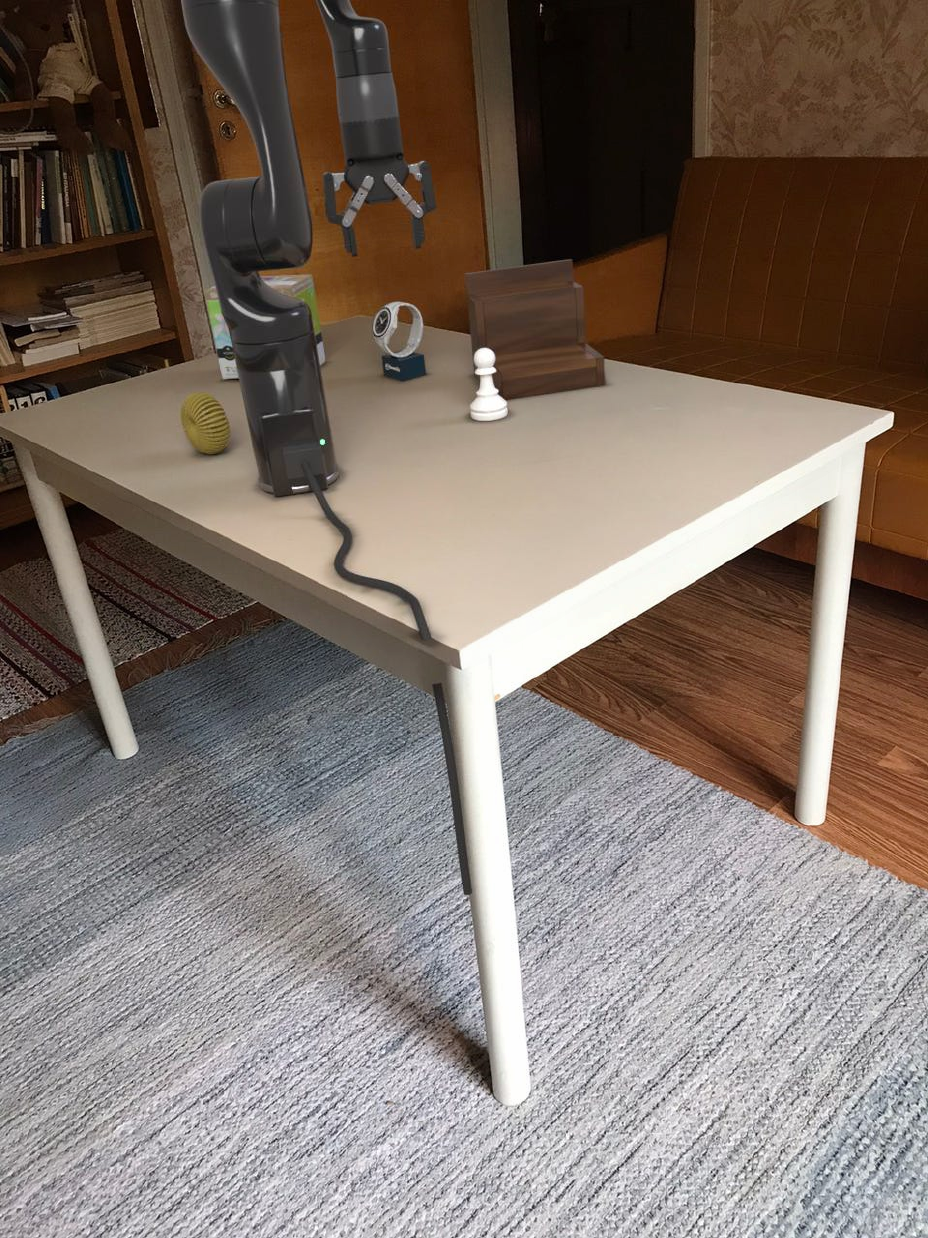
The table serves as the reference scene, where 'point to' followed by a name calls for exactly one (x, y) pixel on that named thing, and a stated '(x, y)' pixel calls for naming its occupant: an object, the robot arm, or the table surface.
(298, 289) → the tea box
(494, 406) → the chess pawn
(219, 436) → the sculpture
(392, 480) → the table surface
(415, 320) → the watch
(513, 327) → the shelf
